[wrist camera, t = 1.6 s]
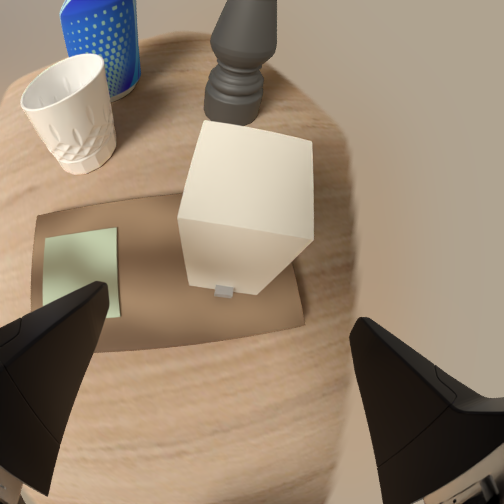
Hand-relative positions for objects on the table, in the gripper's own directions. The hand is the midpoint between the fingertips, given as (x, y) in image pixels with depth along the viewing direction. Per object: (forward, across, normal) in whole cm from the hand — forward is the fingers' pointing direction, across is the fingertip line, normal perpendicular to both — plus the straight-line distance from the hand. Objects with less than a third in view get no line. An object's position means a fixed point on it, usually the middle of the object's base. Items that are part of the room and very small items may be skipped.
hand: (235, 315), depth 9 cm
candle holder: (+26, +2, -8) cm, 27 cm away
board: (+11, +6, +6) cm, 14 cm away
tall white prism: (+11, 0, +4) cm, 12 cm away
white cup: (+20, +16, -2) cm, 26 cm away
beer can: (+27, +18, -10) cm, 34 cm away
